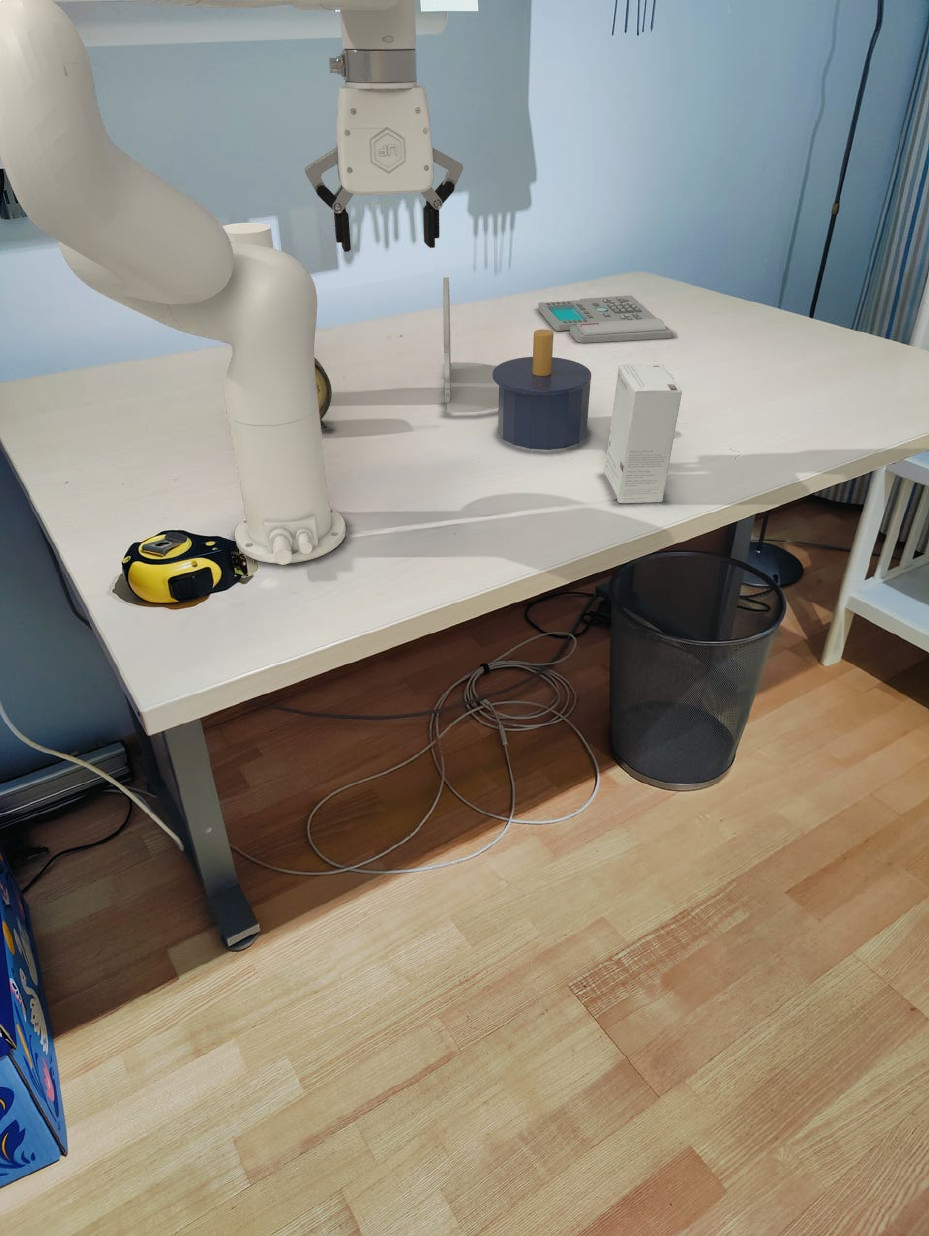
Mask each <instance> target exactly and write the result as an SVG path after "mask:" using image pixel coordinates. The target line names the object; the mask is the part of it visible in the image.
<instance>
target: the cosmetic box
mask: <svg viewBox="0 0 929 1236" xmlns="http://www.w3.org/2000/svg"><path fill="white" fill-rule="evenodd" d="M617 369H618V370H617V375H616V385H615V392H614V399H613V407H612V414H611V421H610V428H609V436H608V442H607V450H606V457H605V465H604V466H605V467H604V471H603V472H604V475H605V477H606V478H607V479H608V481H609V483H610V485H611V487H612V489H613V491H614V493H615V497H616V502H617V503H618V504H641V503H662V502H663V501H664V495H665V489H666V482H667V478H668V472H669V466H670V460H671V456H672V450H673V444H674V439H675V435H676V434H675V432H676V429H677V428H676V427H677V422H678V418H679V417H678V416H679V412H680V411H679V410H680V406H681V399H682V395H683V390H682V389H681V387H680V386H679V385H678V383H676V381H675V377H674V376H673V374H671V373H670V372H669V371H668V370H667V368H666V367H665V365H663V364H618V368H617Z"/></svg>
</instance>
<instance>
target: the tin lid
mask: <svg viewBox="0 0 929 1236" xmlns="http://www.w3.org/2000/svg"><path fill="white" fill-rule="evenodd" d="M532 342H533V344H532V345H533V346H532V356H524V357H517V358H514V359H513V358H512V359H510V360H506V361H503V362H501V363H499V364H498V365H495V366H496V367H495V369H494V370H493V380H494V382H495V383H496V384H498V385H499V386H501V387H502V388H505V389H507V390H510V391H513V392H517V393H523V394H530V395H559V394H565V393H570V392H574V391H577V390H580V389H582V388H584V387H586V386H587V385H588V384H589V383H590V381H591V382H592V372H591V370H590V369H589V368H588V367H587V366H585V365H584V364H582V363H580V362H578V361H577V362H576V361H574V360H571V359H568V358H562V357H555V356H553V350H554V331H552V330H550V329H545V328H544V329H543V328H542V329H537V330H534V331H533V341H532ZM590 384H591V383H590Z"/></svg>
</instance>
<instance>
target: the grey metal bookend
mask: <svg viewBox="0 0 929 1236" xmlns="http://www.w3.org/2000/svg"><path fill="white" fill-rule="evenodd" d="M442 279H443V281H442V310H443V311H442V322H443V323H442V324H443V325H442V327H443V331H442V332H443V376H444V377H443V378H444V404H446V413H451V414H465V413H466V414H467V413H479V412H486V411H492V410H497V409H499V385H498V384H496V383H495V382H494V380H493V370H494V369H495V367H496V366H497V365H491V364H485V363H477V362H476V363H474V362H452V359H451V357H452V355H451V354H452V353H451V351H452V350H451V349H452V348H451V306H450V277H447V276H446V277H443V278H442Z"/></svg>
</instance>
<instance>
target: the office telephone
mask: <svg viewBox="0 0 929 1236" xmlns="http://www.w3.org/2000/svg"><path fill="white" fill-rule="evenodd" d="M537 309H538V311H539V313H540V314H541V315H542V316H543V318H544V319H545V320H546V321H547V322H548V324H549V325H550V326H551V327H552V328H553V329H554V330H555V331H556V332H561V331H563V332H564V331H569V334H570V335H571V336H572V337H573V339H574V340H575V341H576V343H581V344H586V343H588V344H589V343H607V342H626V341H644V340H645V341H646V340H660V339H672V336H673V331H672V329H670V328H669V327H668V326H667V325H666V324H665V322H664V321H663V320H662V319H661V318H659V317H658V318H657V317H656V316H655V315H654V314H652V312H650V311H649V310H648V309H647V308H646V307H645V306H644V305H642V304H641V303H640V302H639V301H638V300H637V299H636V298H635V296H632V295H618V296H602V297H588V298H587V297H586V298H579V299H577V300H565V301H563V300H562V301H550V302H549V301H547V302H544V301H543V302H541V301H540V302H538V304H537Z"/></svg>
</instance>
